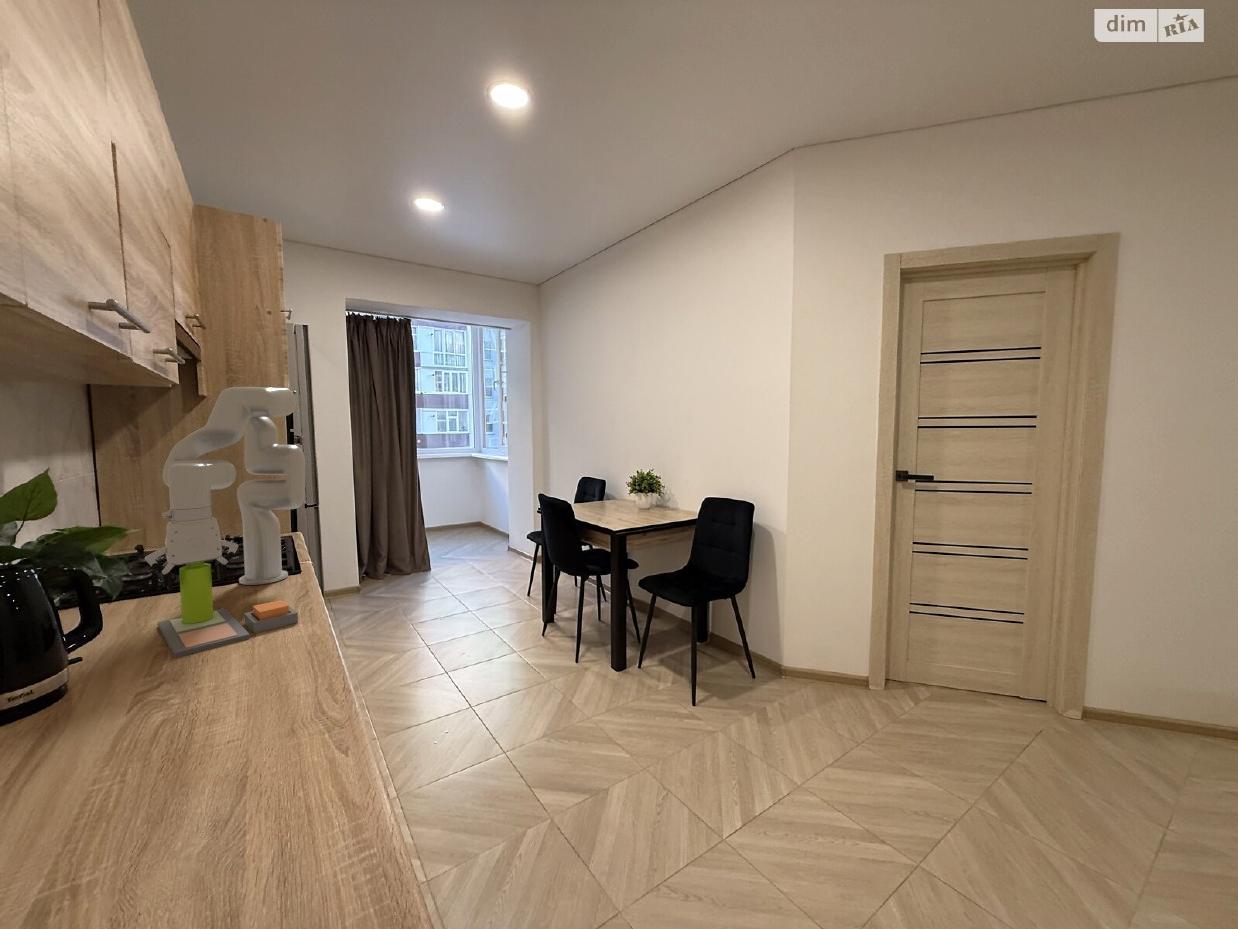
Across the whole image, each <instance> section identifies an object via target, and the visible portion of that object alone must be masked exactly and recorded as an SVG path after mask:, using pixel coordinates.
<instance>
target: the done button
mask: <svg viewBox="0 0 1238 929" xmlns="http://www.w3.org/2000/svg"><path fill="white" fill-rule="evenodd" d="M288 605H289V604H287V603H285V602H284V601H283V600H282V599H279V600H275V601H271V602H265V603H262V604H261V603H260V604H256V605H252V611H253V614H254V615H255V616H256V617H257V618H258V619H259V620H263V619H267V618H272V617H276V616H280V615H284V614H288V613H289V606H290V605H289V606H288Z"/></svg>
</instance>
